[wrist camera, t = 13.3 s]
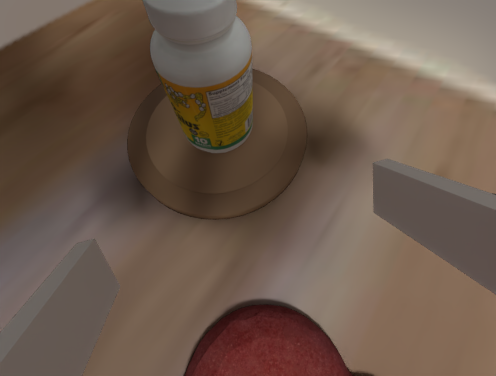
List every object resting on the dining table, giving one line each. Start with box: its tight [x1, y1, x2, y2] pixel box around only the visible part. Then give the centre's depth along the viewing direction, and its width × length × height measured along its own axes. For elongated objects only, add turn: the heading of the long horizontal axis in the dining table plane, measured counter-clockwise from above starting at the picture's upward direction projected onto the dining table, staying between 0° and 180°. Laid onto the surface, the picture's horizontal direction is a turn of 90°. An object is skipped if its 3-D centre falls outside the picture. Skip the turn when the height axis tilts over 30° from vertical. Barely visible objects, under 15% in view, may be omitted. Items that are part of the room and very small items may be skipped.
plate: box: [127, 69, 307, 220], centre depth 20 cm, size 14×14×1 cm
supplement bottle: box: [143, 0, 253, 153], centre depth 15 cm, size 5×5×10 cm
